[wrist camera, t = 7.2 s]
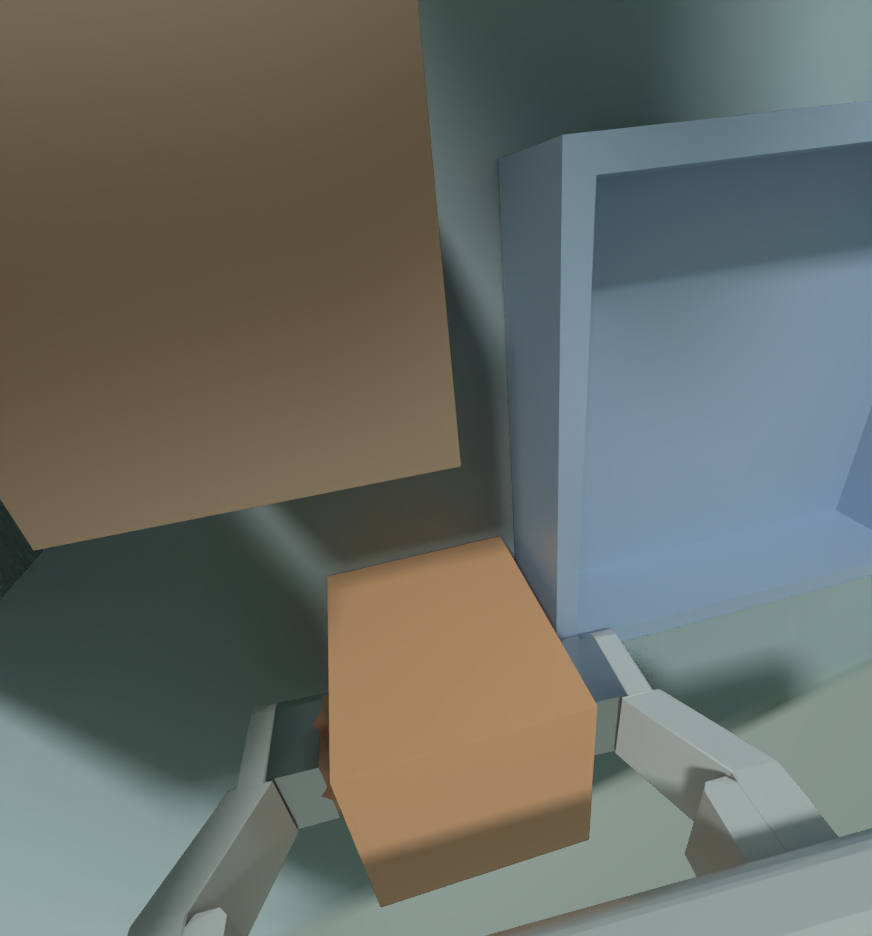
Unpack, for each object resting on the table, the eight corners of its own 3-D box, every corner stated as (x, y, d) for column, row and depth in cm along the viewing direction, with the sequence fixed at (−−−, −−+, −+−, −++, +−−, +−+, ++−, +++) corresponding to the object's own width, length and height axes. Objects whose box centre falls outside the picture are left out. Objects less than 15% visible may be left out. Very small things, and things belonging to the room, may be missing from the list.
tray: (826, 509, 14) (920, 562, 12) (516, 584, 13) (556, 659, 11) (962, 106, 10) (1154, 70, 7) (497, 158, 8) (562, 134, 6)
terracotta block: (509, 654, 14) (588, 838, 10) (363, 693, 14) (380, 907, 10) (500, 536, 12) (597, 705, 8) (327, 576, 12) (329, 782, 7)
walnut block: (399, 358, 10) (461, 466, 5) (171, 396, 9) (33, 550, 5) (359, 84, 8) (408, -102, 3) (59, 110, 7) (-371, -78, 3)
